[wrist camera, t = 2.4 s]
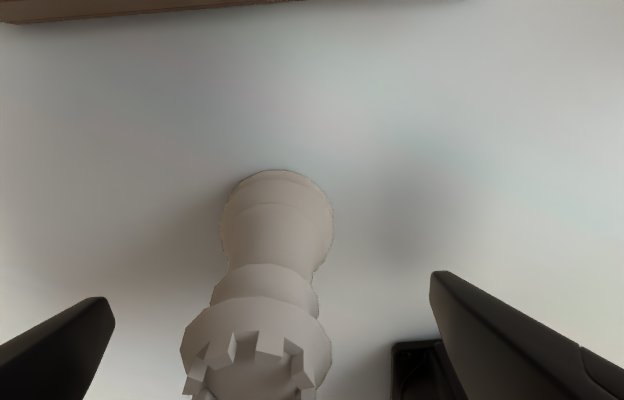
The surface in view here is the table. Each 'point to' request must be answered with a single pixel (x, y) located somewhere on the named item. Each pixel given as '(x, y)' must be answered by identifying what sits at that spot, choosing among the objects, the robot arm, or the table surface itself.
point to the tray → (103, 8)
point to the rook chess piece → (264, 296)
